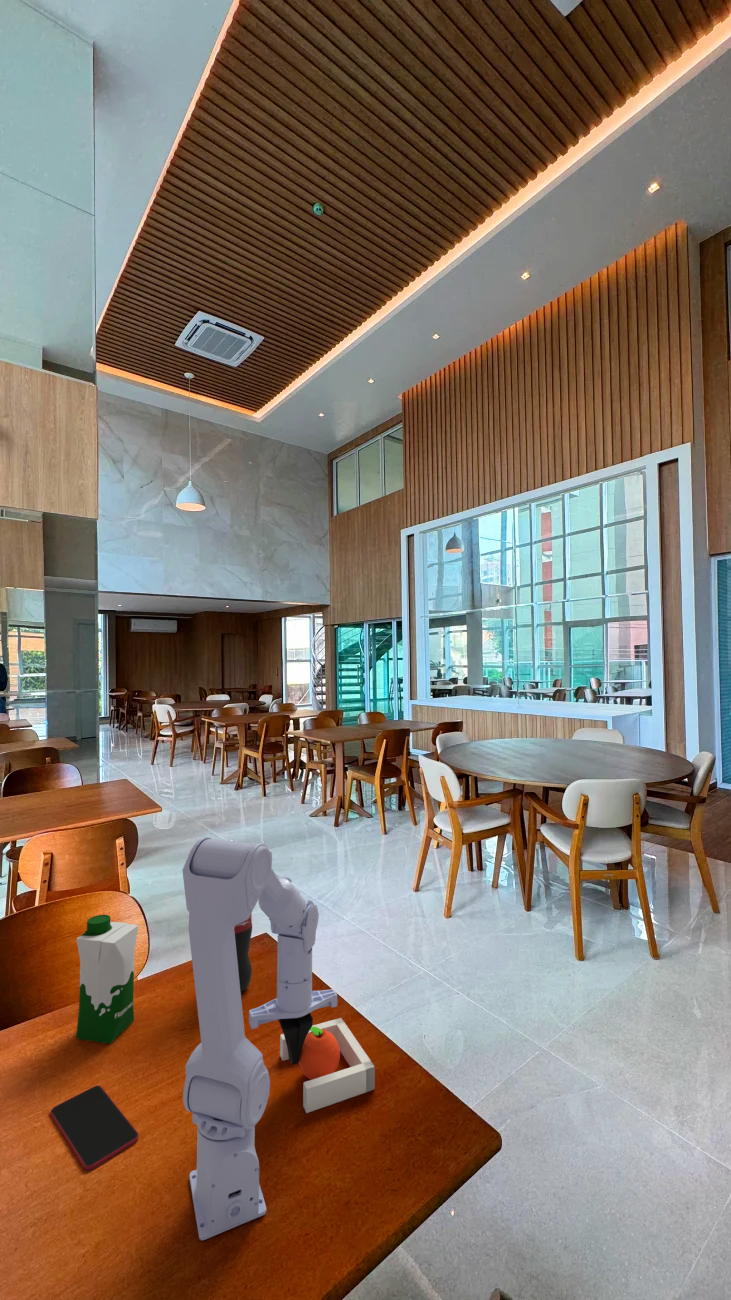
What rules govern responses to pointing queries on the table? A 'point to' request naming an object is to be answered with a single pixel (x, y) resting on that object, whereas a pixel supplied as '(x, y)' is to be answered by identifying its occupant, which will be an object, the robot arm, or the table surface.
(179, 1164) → the table surface
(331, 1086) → the holder
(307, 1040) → the clementine
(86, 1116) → the smartphone
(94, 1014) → the milk carton
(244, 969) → the cola bottle
